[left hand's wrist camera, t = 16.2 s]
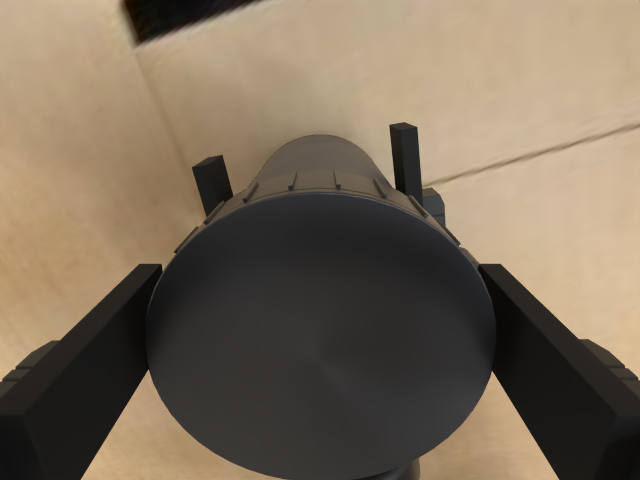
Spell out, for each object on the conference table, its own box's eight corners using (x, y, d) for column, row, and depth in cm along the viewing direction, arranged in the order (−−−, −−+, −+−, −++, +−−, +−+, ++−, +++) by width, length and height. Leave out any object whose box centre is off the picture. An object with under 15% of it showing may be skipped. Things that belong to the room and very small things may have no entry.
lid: (216, 435, 15) (197, 498, 12) (133, 194, 11) (85, 221, 9) (467, 406, 14) (496, 467, 12) (464, 143, 11) (504, 158, 8)
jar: (247, 139, 24) (135, 215, 9) (384, 129, 24) (485, 192, 9) (264, 262, 27) (200, 462, 13) (384, 255, 27) (461, 449, 12)
